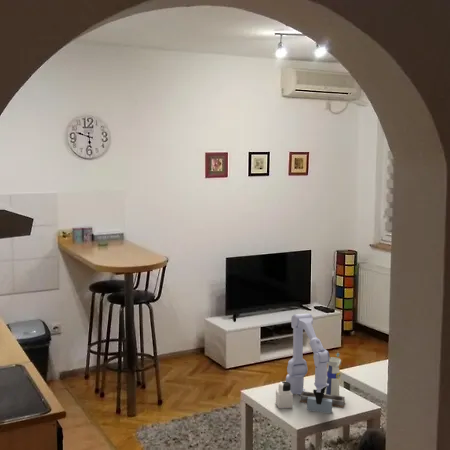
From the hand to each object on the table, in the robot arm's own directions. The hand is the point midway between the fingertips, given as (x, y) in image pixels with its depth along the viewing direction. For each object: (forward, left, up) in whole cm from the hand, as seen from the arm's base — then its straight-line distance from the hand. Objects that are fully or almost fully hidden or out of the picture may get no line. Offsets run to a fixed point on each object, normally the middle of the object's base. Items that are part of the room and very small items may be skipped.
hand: (319, 401), depth 304 cm
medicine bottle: (-18, 0, -5) cm, 19 cm away
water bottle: (+4, +23, -5) cm, 24 cm away
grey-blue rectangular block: (0, 0, -5) cm, 5 cm away
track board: (0, +11, -5) cm, 12 cm away
